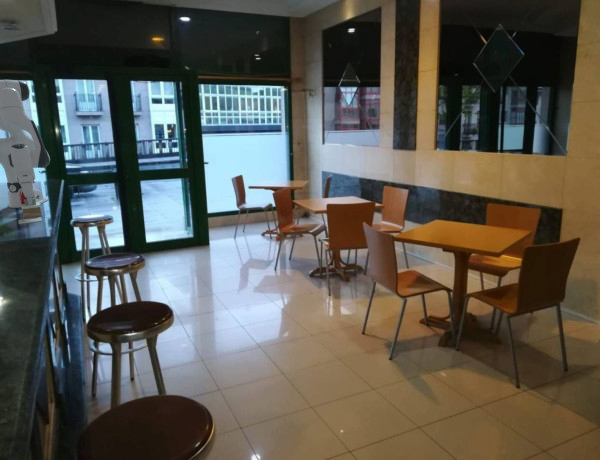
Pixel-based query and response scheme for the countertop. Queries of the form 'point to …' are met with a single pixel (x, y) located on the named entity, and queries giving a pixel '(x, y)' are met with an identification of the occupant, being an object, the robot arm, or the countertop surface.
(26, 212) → the crate
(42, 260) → the countertop surface
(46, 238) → the countertop surface
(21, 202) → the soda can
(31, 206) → the lid
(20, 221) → the mat
